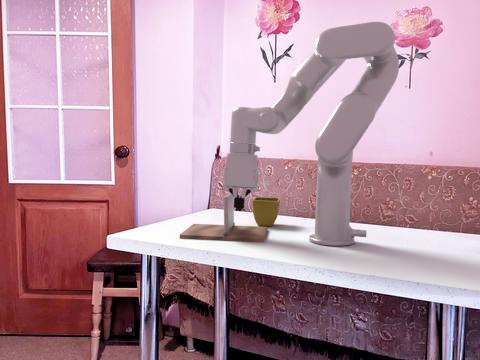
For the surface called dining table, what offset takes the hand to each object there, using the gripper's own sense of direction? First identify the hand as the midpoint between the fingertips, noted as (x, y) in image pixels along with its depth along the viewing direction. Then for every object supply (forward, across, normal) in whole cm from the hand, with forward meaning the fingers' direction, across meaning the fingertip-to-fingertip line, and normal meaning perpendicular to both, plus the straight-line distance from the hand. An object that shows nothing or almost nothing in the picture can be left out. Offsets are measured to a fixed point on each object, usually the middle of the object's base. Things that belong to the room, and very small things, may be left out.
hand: (238, 210), depth 131 cm
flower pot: (+7, -8, -18) cm, 21 cm away
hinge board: (+7, +3, 0) cm, 8 cm away
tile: (0, +2, 0) cm, 2 cm away
